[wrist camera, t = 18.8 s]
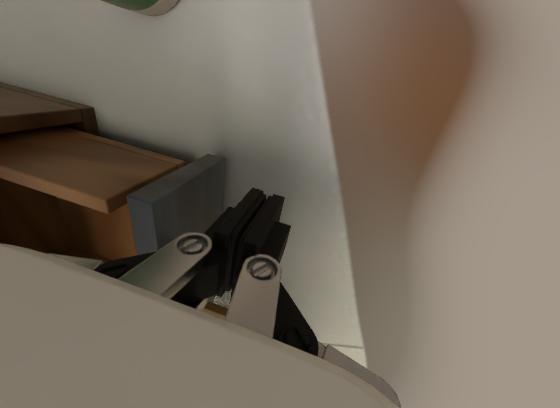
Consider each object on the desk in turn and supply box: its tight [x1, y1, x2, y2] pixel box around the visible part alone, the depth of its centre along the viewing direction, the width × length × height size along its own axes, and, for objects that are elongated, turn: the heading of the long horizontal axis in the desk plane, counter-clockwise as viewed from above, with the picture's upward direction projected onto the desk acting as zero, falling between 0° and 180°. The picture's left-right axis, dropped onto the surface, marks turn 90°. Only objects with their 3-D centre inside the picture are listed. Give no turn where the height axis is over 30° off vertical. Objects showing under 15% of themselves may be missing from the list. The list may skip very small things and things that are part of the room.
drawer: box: [0, 125, 228, 320], centre depth 16 cm, size 20×14×6 cm
